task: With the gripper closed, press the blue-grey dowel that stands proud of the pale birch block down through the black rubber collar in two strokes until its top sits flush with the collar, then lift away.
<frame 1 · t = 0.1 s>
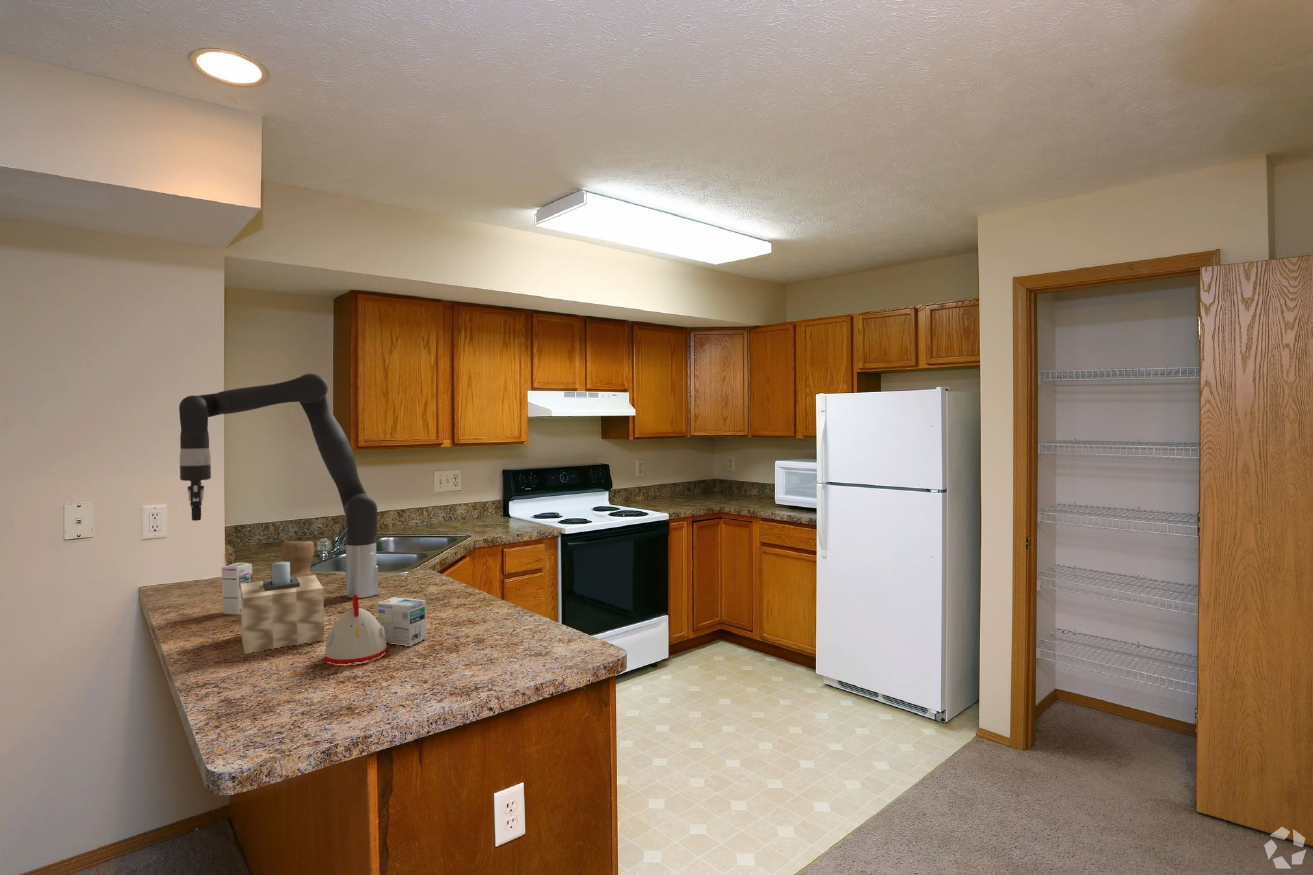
hand: (196, 518, 200), 29 cm above the worktop, tool pointing down, fingers open, 8 cm apart
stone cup: (293, 582, 244), on the worktop
kitchen timer: (356, 656, 167), on the worktop
dowel: (281, 585, 181), point 14 cm above the worktop, slide at 0.0 cm
rubber collar: (281, 583, 181), on the birch block, point 14 cm above the worktop
light bulb box: (402, 642, 178), on the worktop
birch block: (282, 637, 181), on the worktop
syrup box: (238, 612, 206), on the worktop
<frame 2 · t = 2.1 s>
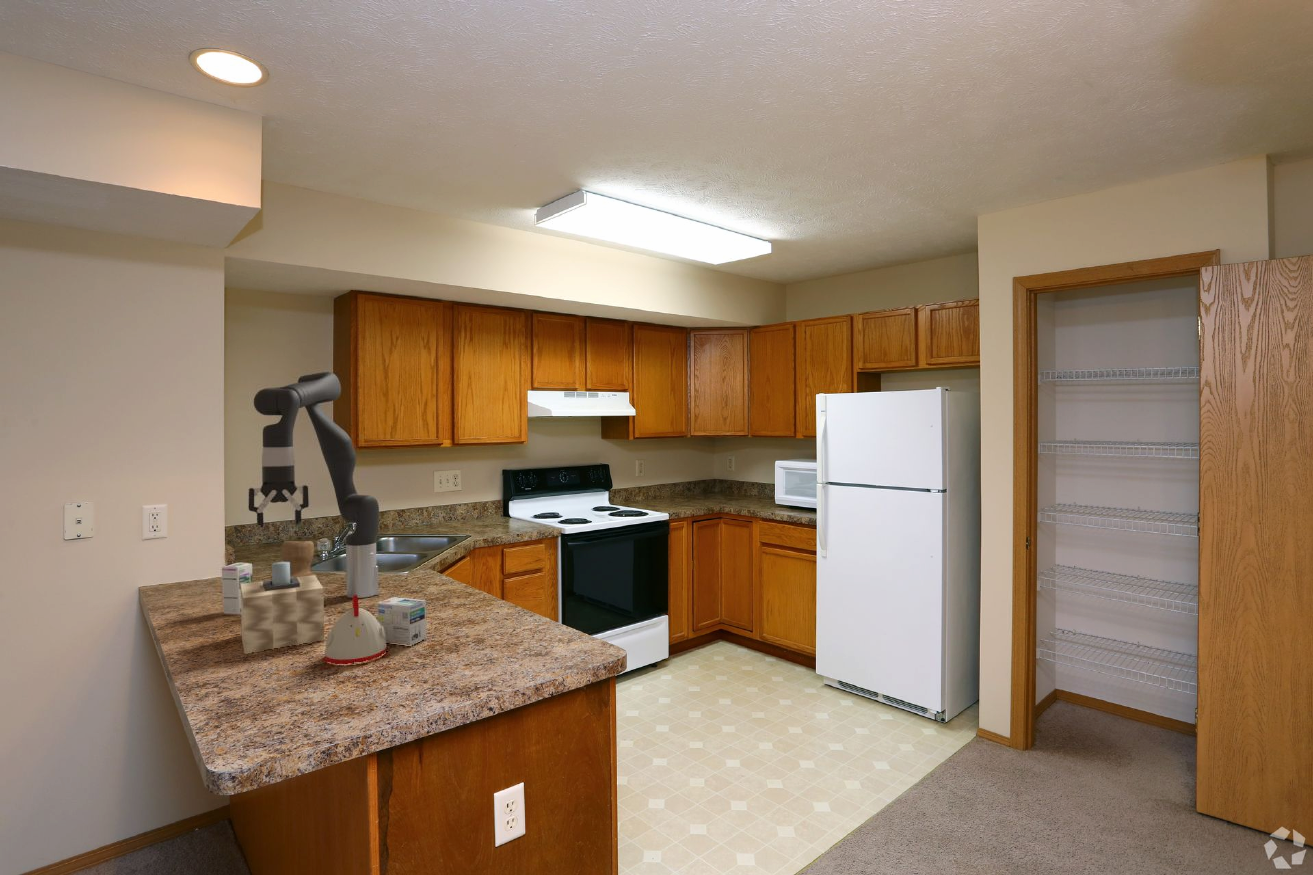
hand: (279, 525, 180), 30 cm above the worktop, tool pointing down, fingers open, 7 cm apart
nothing on the worktop moved.
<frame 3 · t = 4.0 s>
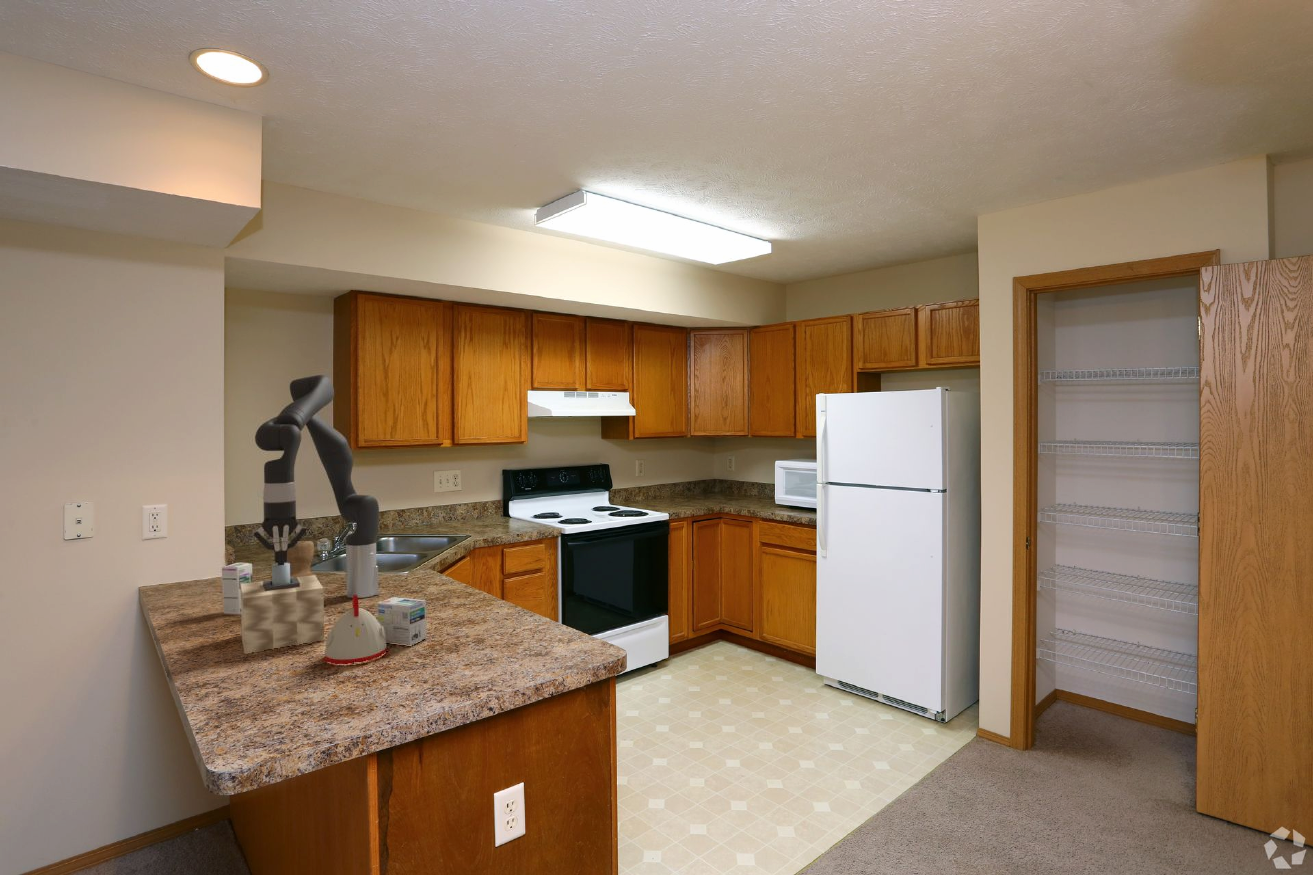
hand: (280, 564, 180), 20 cm above the worktop, tool pointing down, fingers closed
dowel: (281, 586, 181), point 14 cm above the worktop, slide at 0.3 cm, touching gripper
everything else where it was.
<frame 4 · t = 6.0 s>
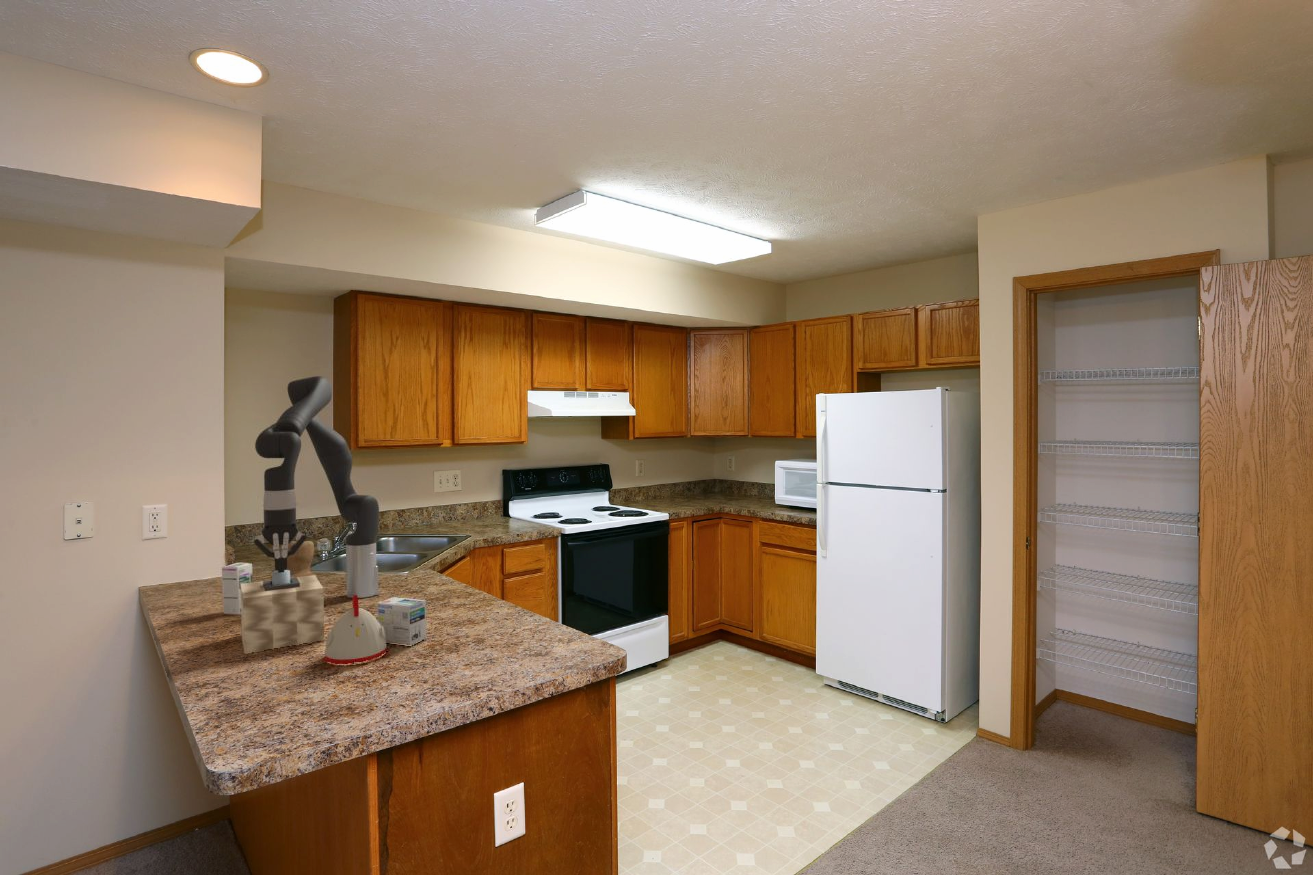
hand: (280, 571, 181), 18 cm above the worktop, tool pointing down, fingers closed
dowel: (281, 594, 181), point 12 cm above the worktop, slide at 2.2 cm, touching gripper
everything else where it was.
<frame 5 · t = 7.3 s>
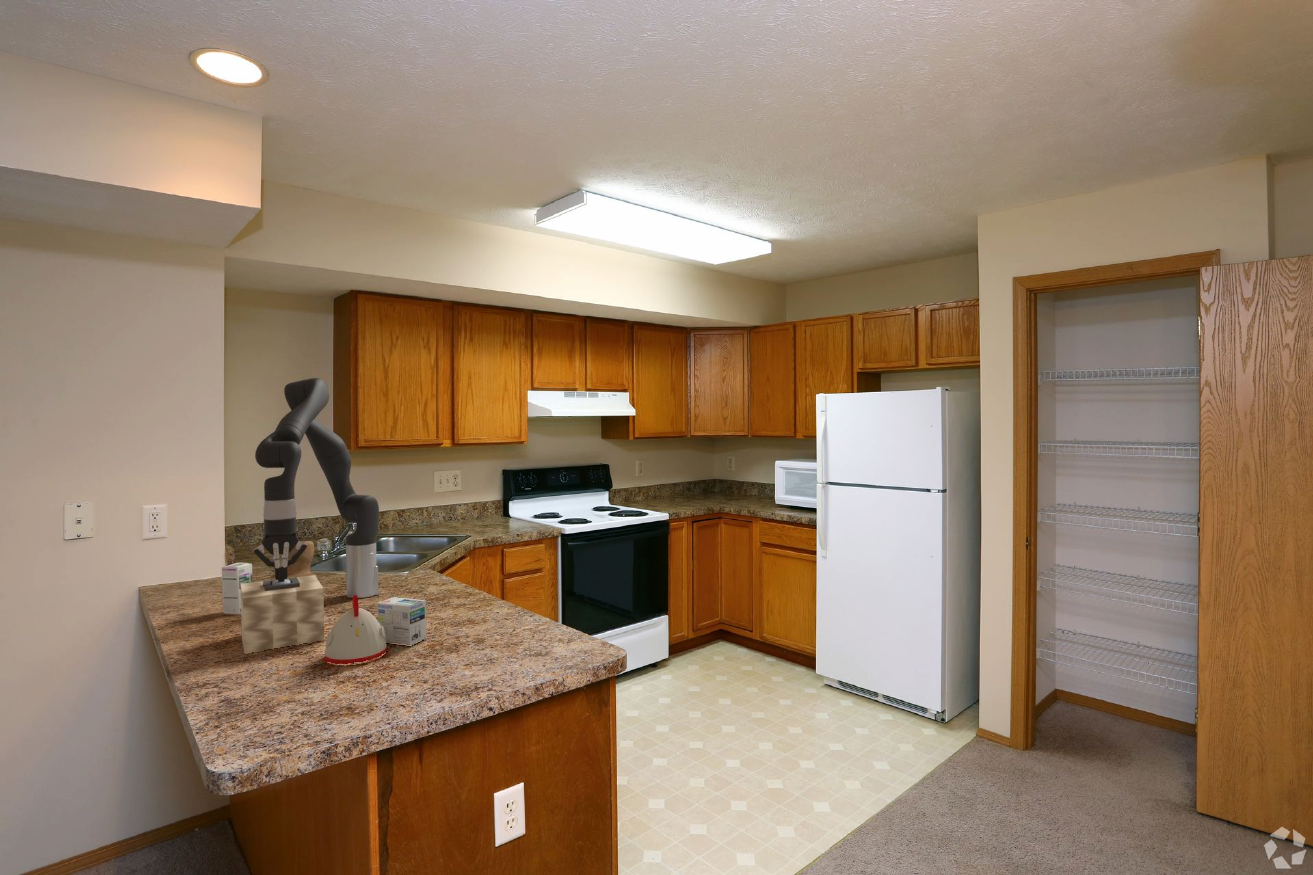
hand: (281, 581, 181), 15 cm above the worktop, tool pointing down, fingers closed
dowel: (281, 603, 181), point 9 cm above the worktop, slide at 4.8 cm, touching gripper
everything else where it was.
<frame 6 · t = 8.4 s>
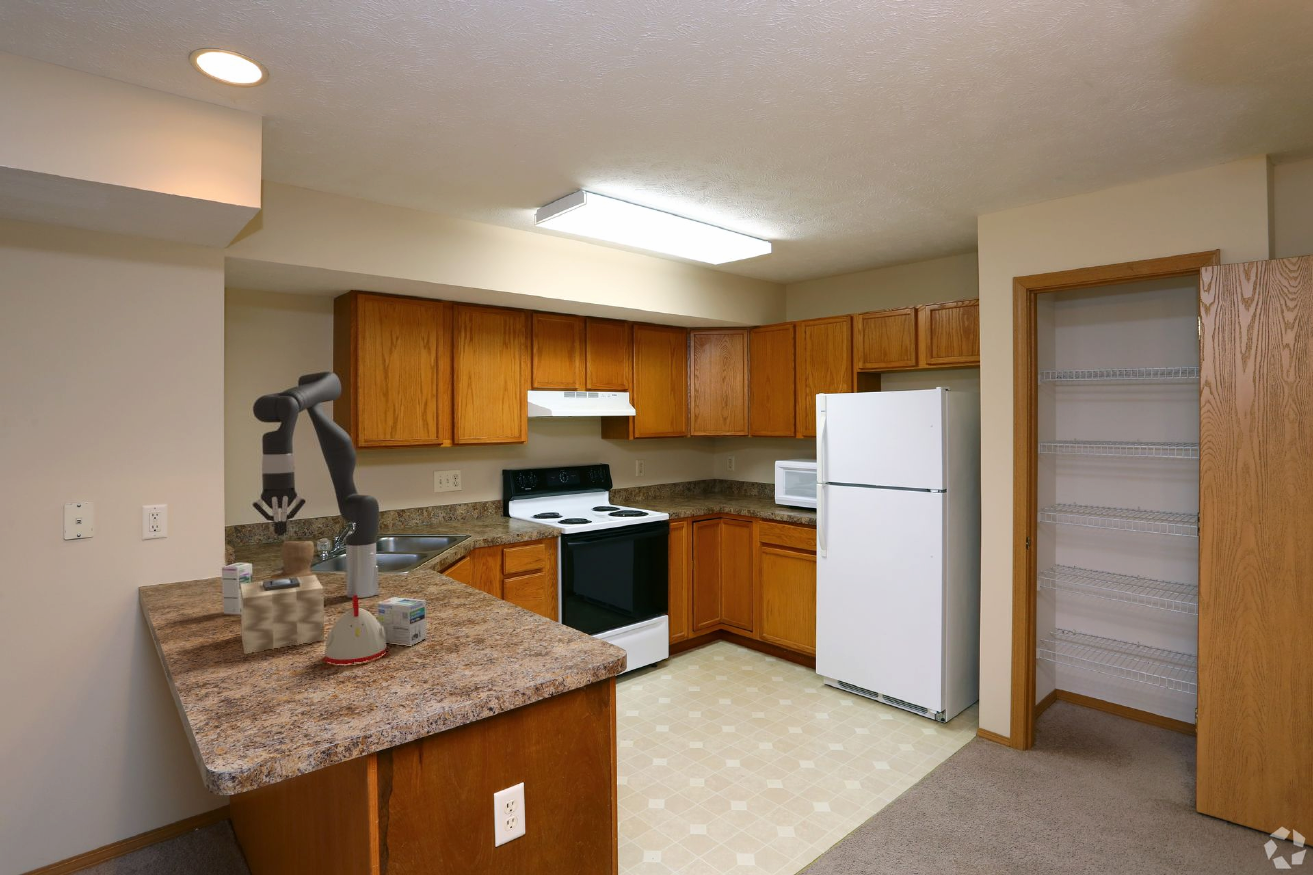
hand: (280, 535, 182), 27 cm above the worktop, tool pointing down, fingers closed
dowel: (281, 603, 181), point 9 cm above the worktop, slide at 4.8 cm
everything else where it was.
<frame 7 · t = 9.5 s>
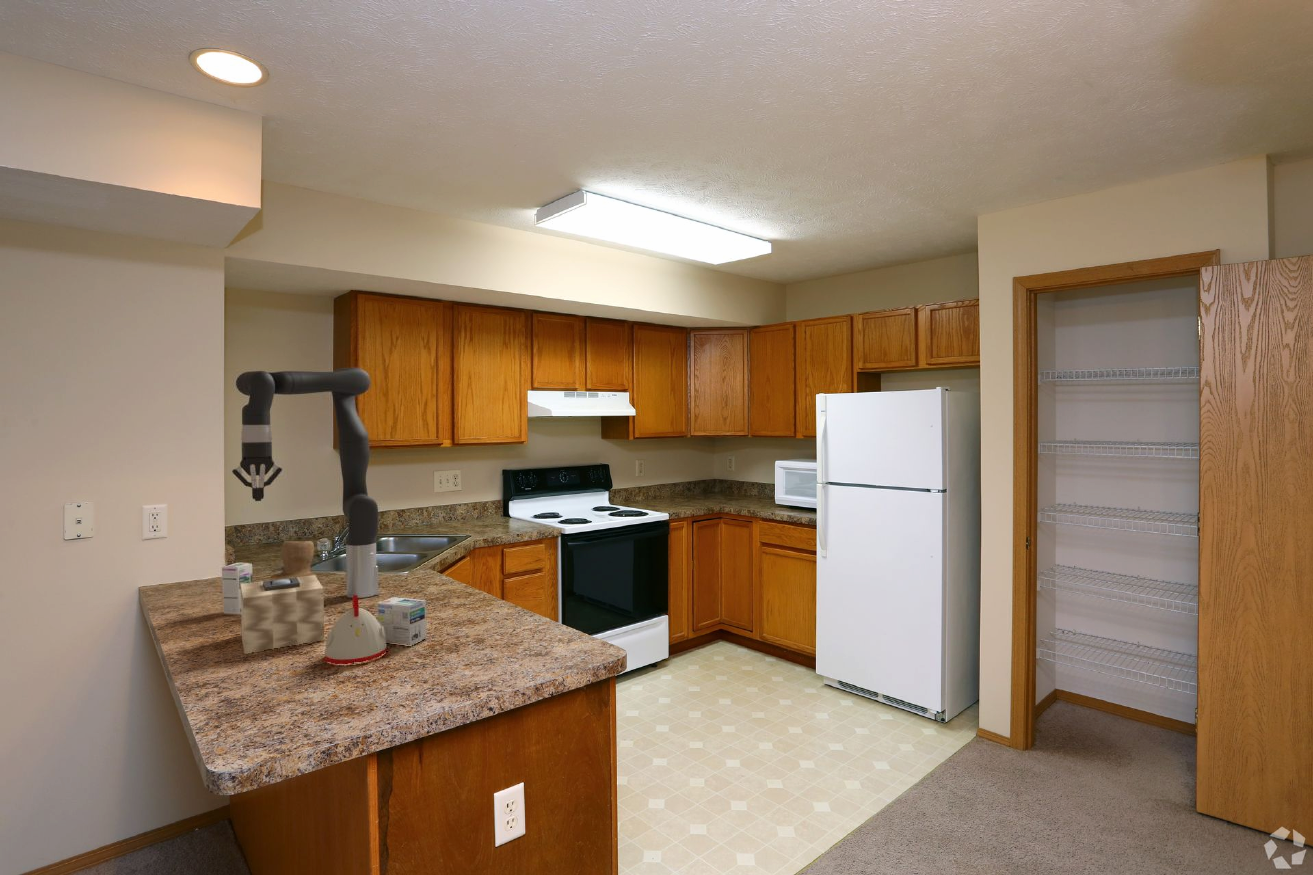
hand: (258, 500, 195), 35 cm above the worktop, tool pointing down, fingers closed
nothing on the worktop moved.
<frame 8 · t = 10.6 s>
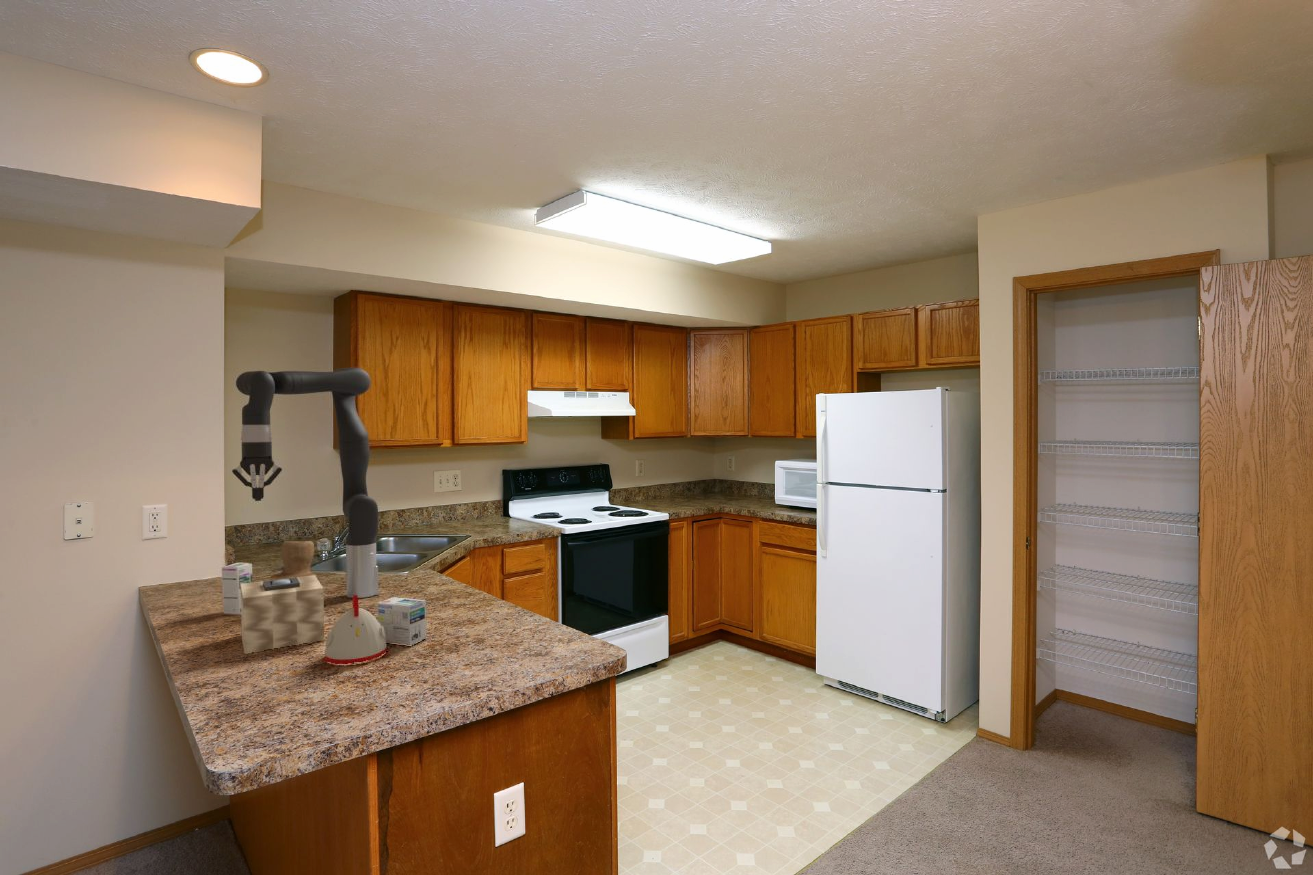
hand: (257, 500, 195), 35 cm above the worktop, tool pointing down, fingers closed
nothing on the worktop moved.
at the end: dowel slide at 4.8 cm; the gripper is holding nothing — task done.
